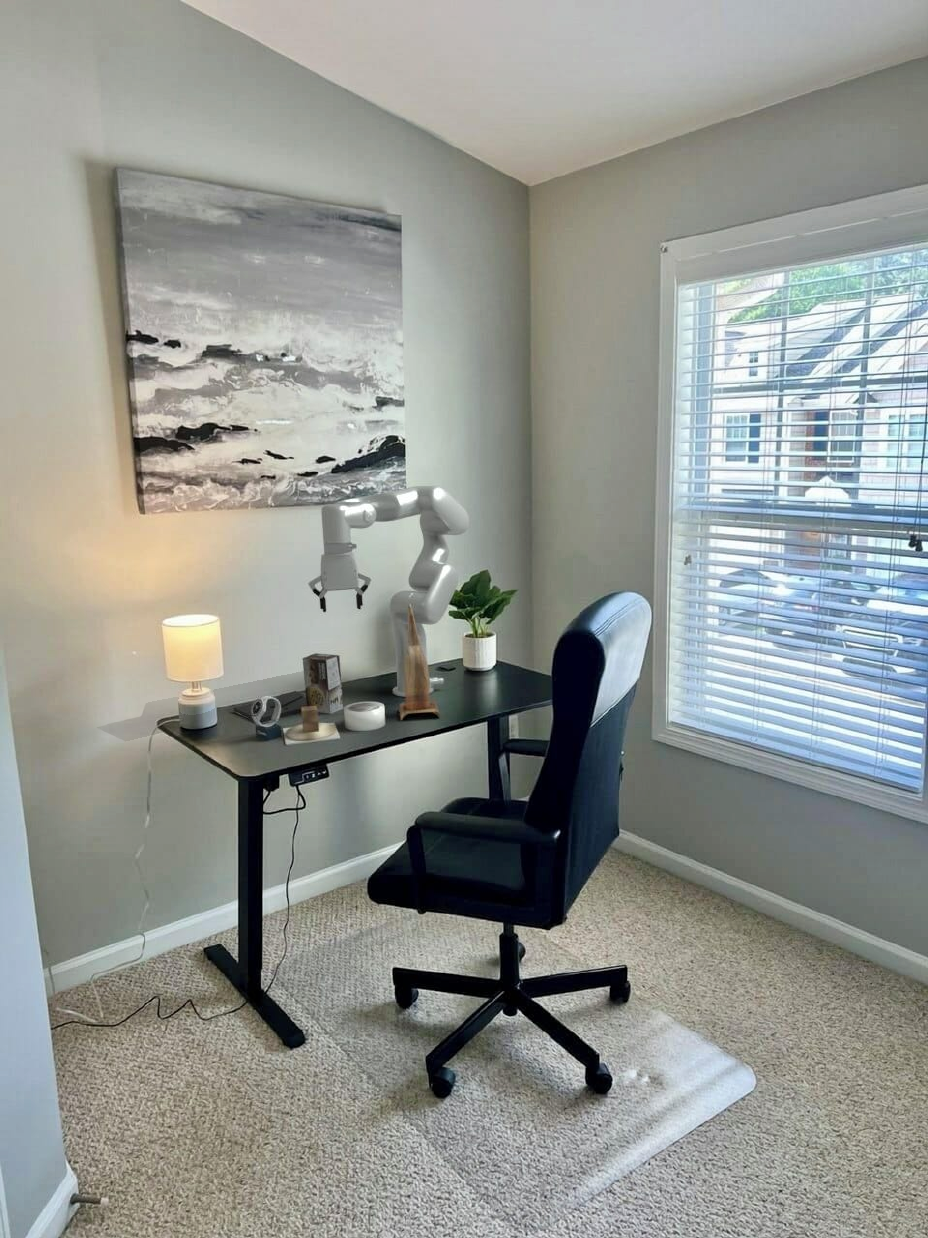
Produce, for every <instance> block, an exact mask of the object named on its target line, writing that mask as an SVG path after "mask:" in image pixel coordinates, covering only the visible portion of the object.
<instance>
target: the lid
mask: <svg viewBox="0 0 928 1238" xmlns="http://www.w3.org/2000/svg"><path fill="white" fill-rule="evenodd" d="M301 712H302V713H301V722H302V724H297V725H295V726H291V727H292V728H291V727H289V728H290V729H288V730H287V731H286V736H287V737H288V738H289V739H292V740H298V741H310V740H318V739H323V738H326V737H329V736H331V735H333V734H334V733H335V732H336V729H335V726H336V725H335V726H334V725H331V724H328V723H329V722H327V723H326V722H319V712H318V711H317V707H316V706H308V707H301Z"/></svg>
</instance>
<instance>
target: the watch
mask: <svg viewBox="0 0 928 1238" xmlns="http://www.w3.org/2000/svg"><path fill="white" fill-rule="evenodd" d="M276 698H277V697H273V696H270V695H264V696H261V697H259V698H257V699H255V701H254V702H252V703H253V705H252V707H251V715H252V718H253V720H254V721H253V720H252V721H253V722H254V723H255V724H256V725H255V735H256V738H258V737H259V738H258V739H261V740H264V741H267V742H269V741H272V740H276V739H279V738H283V737H282V736H283V735H282V725H281V724H277V723H278V722H279V719H280V718H279V717H280V713H281V705H280V702H279V701H278V700H277V699H276ZM269 699H273V700H274V702H275V704H276V705H275V708H274V713H273V716H272V718H271V719H272V720H270V721H266V722H262V723H260V722H259V720H260V719H261V716H262V715H263V714H264V712H265V711H266V703H267V700H269Z"/></svg>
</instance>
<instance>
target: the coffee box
mask: <svg viewBox="0 0 928 1238" xmlns="http://www.w3.org/2000/svg"><path fill="white" fill-rule="evenodd" d="M302 666H303V667H302V668H303V677H304V678H303V681H304V689H305V697H306V703H307V707H308V706H316V707H317V711H318V713H320V714H328V715H331V714H334V713H336V712H338V711H341V710H344V701H343V700H344V699H343V698H344V697H343V688H342V687H343V686H342V674H341V661H340V655H337V654H327V653H313V654H310V655H308V656H305V657H303V658H302Z"/></svg>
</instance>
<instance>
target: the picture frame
mask: <svg viewBox="0 0 928 1238" xmlns="http://www.w3.org/2000/svg"><path fill="white" fill-rule="evenodd" d="M304 695H305V694H303V693H301V692H300V691H299V692H298V691H297V690H294V691H291V692H285V693H281V694H280V695H279V696H278V697H275V698H276V699H277V700H278V701H279V702H280V705H281V713H280V717H279V719H281V718H286V717H289V716H293V715H297V714H302V712H301V707H307V703H306V696H304ZM253 703H254V702H252V703H247V704H244V705H239V706H234V707H233V712H234V711H235V712H238V713H240V714H242V715H244V716H246V717H248V718H250V719H251V721H253V722H254V720H253V718H252V715H251V707H252V705H253ZM275 705H276V704H275V702H274V700H273V699H272V698H271V699H267V703H266V711H265V712H264V714H263V715H262V716H261V719H260V720H259V722H260V723H261V724H263V723H267V722H271V720H272V719H271V718H272V716H273V713H274V708H275ZM235 712H234V713H235ZM244 716H243V717H244ZM246 717H245V718H246ZM248 718H247V719H248ZM250 719H249V720H250Z"/></svg>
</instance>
